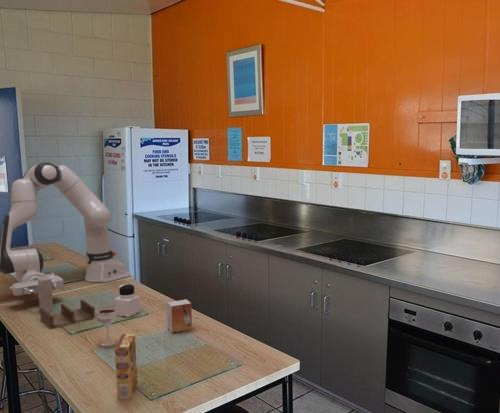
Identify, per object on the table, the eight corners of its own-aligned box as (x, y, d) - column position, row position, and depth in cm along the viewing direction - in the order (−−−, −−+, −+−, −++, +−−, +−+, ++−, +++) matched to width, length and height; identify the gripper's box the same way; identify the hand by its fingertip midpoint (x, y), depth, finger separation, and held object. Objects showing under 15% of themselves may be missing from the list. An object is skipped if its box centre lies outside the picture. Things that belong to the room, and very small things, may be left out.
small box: (171, 333, 175) (171, 306, 174) (167, 328, 180) (166, 301, 179) (192, 330, 179) (191, 303, 178) (187, 325, 184) (186, 298, 183)
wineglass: (107, 348, 163) (105, 315, 161) (93, 344, 166) (92, 311, 165) (122, 341, 168) (120, 309, 167) (108, 337, 172) (107, 305, 170)
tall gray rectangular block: (49, 308, 202) (47, 276, 200) (53, 311, 198) (51, 279, 196) (39, 310, 200) (37, 278, 198) (43, 313, 196) (41, 280, 194)
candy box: (132, 399, 131) (130, 346, 128) (116, 400, 130) (114, 346, 128) (137, 383, 139) (136, 333, 137) (123, 384, 139) (121, 333, 137)
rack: (83, 309, 201) (82, 299, 200) (95, 318, 191) (94, 307, 190) (40, 319, 190) (40, 308, 189) (50, 328, 180) (50, 317, 179)
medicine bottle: (139, 312, 198) (139, 284, 196) (128, 317, 192) (127, 288, 190) (126, 309, 201) (125, 282, 199) (114, 315, 195) (113, 286, 193)
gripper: (7, 280, 203) (15, 287, 193) (56, 271, 216) (67, 278, 206) (8, 294, 204) (16, 302, 194) (57, 285, 217) (67, 292, 206)
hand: (43, 290), depth 200 cm, fingers open, 8 cm apart
